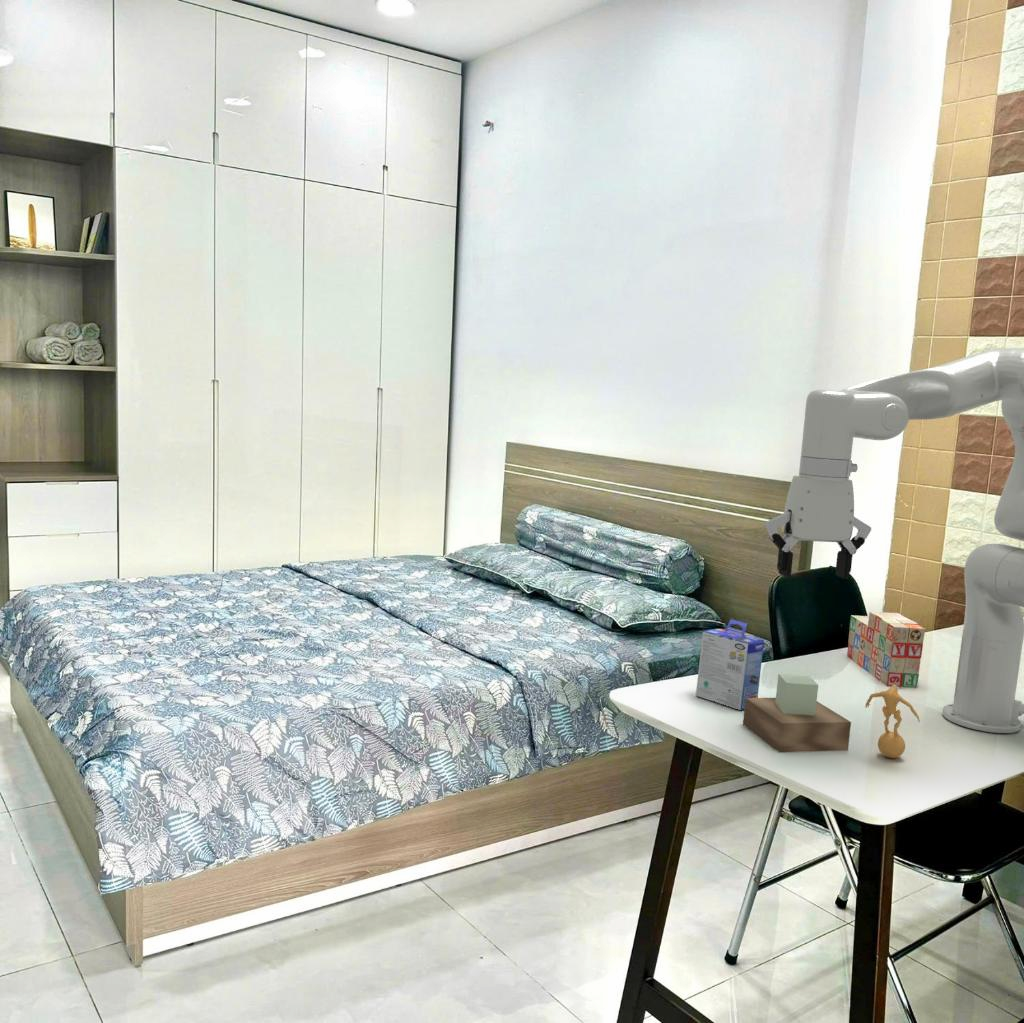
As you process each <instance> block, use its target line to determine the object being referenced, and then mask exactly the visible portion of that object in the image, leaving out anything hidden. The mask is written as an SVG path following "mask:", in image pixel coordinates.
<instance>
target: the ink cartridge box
mask: <svg viewBox="0 0 1024 1023" xmlns="http://www.w3.org/2000/svg"><path fill="white" fill-rule="evenodd" d="M734 625H736V626H737V625H738V626H740V627H741V628H742V629H738V628H734V627H732V626H734ZM748 625H749V624H748V623H747V622H743V621H739V620H735V619H732V618H730V620H729V622H728V624H727V625H726V628H725V629H722V628H714V629H708V630H707V629H706V630H704V631H703V632H702V635H701V636H702V638H701V645H700V646H701V647H700V655H699V665H698V670H697V671H698V673H697V681H696V688H695V696H696V697H699V698H702V699H705V700H707V701H711V702H714V701H715V702H714V703H716V704H720V705H723V704H724V705H723V706H725V705H726V706H725V707H728V706H729V707H728V708H731V707H732V709H736V710H737V709H738V710H737V711H744V709H745V699H746V698H759V697H758V696H759V689H760V688H759V687H760V679H761V670H762V663H763V662H762V661H763V653H764V645H765V644H764V643H765V640H764V639H763V638H758V637H756V636H755V637H754V636H749V635H746V634H745V633H746V630H747V627H748Z"/></svg>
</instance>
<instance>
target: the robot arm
mask: <svg viewBox="0 0 1024 1023" xmlns="http://www.w3.org/2000/svg"><path fill="white" fill-rule="evenodd" d="M806 397H807V398H806V401H805V410H804V421H803V422H804V423H803V432H802V443H801V452H800V461H799V470H798V475H793V476H792V478H791V479H792V480H791V483H790V485H789V489H788V493H787V496H786V501H785V504H784V505H785V506H784V513H781V514H779V515H778V516H775V517H773V518H771V519H769V520H767V521H765V523H764V525H765V528H766V532H767V534H768V535H769V540H771V542H772V543H773V544H774V545H775V548H776V549H778V553H777V564H776V568H777V571H778V574H779V575H781V576H783V577H785V578H790V577H792V568H793V567H792V566H793V558H794V553H793V552H792V551H791V550H792V548H793V547H794V546H795V545H796V544H797V543H798V542H799V541H803V542H819V543H821V542H823V543H824V542H825V543H837V545H838V546H839V548H840V550H838V552H837V555H836V564H835V573H834V574H835V576H837V577H839V578H840V579H843V580H849V576H850V573H851V572H852V564H853V555H855V554H856V553H857V550H859V549H860V548H861V547H862V546H863V545H864V544H865V542H866V541H865V540H866V539H867V538H868V536H869V534H870V533H871V532H872V527H871V526H870V525H868V524H867V523H865V522H864V521H862V520H860V519H859V518H857V517H856V516H855V496H854V494H855V493H854V486H853V480H852V479H850V477H851V473H856V472H857V471H858V464H857V463H853V462H852V455H853V454H852V451H853V446H854V443H853V442H854V438H857V439H864V440H871V441H886V440H891V439H893V438H895V437H897V436H899V435H900V434H902V432H903V431H904V430H905V429H906V427H907V426H908V423H909V420H910V421H911V420H915V421H916V420H917V421H918V420H919V421H920V420H921V421H922V420H923V421H924V420H927V421H928V420H935V419H937V420H938V419H943V418H950V417H953V416H956V415H958V414H963V413H964V412H967V411H971V410H973V409H977V408H979V407H982V406H985V405H988V404H993V403H994V402H999V401H1001V404H1000V406H1001V407H1000V408H1001V412H1002V416H1003V419H1004V421H1005V423H1006V425H1007V427H1008V429H1009V430H1010V432H1011V435H1012V438H1013V443H1014V452H1015V453H1014V459H1013V461H1012V465H1011V467H1010V468H1011V469H1010V471H1009V474H1008V476H1007V479H1006V481H1005V485H1004V487H1003V490H1002V492H1001V495H1000V498H999V500H998V503H997V506H996V509H995V513H994V518H993V522H994V526H995V528H996V530H997V531H998V532H999V533H1000V534H1001V535H1003V536H1005V537H1006V538H1007V537H1008V538H1010V539H1014V540H1016V541H1017V540H1018V541H1022V542H1024V347H1020V348H1019V347H1016V348H1015V347H1014V348H1013V347H1012V348H1011V347H1010V348H1003V347H1002V348H992V349H987V350H984V351H981V352H977V353H974V354H971V355H968V356H965V357H962V358H958V359H955V360H952V361H948V362H946V363H943V364H939V365H936V366H932V367H927V368H923V369H918V370H913V371H909V372H906V373H901V374H897V375H891V376H887V377H882V378H878V379H873V380H869V381H866V382H863V383H860V384H859V383H858V384H856V385H853V386H850V387H846V388H843V389H841V390H832V389H831V390H830V389H815V390H812V391H810V392H809V393H808V394H807V396H806ZM780 526H781V530H782V534H783V536H781V535H780V533H779V529H778V528H779V527H780ZM854 528H856V530H857V532H856V535H854V537H852V536H853V531H854ZM963 569H964V570H963V572H964V573H963V575H964V576H963V578H964V579H963V580H964V590H965V591H964V592H965V608H964V619H963V620H964V621H963V627H962V636H961V643H960V650H959V657H958V666H957V672H956V679H955V689H954V694H953V695H954V696H953V702H952V703H950V704H946V705H944V706H943V707H942V711H941V712H942V715H943V717H944V718H945V719H947V720H948V721H950V722H952V723H954V724H956V725H958V726H962V727H965V728H968V729H972V730H976V731H980V732H986V733H987V732H988V733H996V734H1014V733H1017V732H1019V731H1021V729H1022V721H1021V719H1019V717H1022V716H1023V715H1024V703H1023V702H1022V700H1017V699H1016V692H1017V687H1018V678H1019V673H1020V672H1019V671H1020V666H1021V665H1020V664H1021V659H1022V658H1021V657H1022V651H1023V642H1024V615H1023V612H1022V609H1021V608H1024V548H1021V547H1018V546H1013V545H1007V544H1004V543H1003V544H1002V543H986V544H982V545H980V546H978V547H976V548H975V549H973V550H972V551H971V552H970V554H969V555H968V556H967V559H966V561H965V564H964V568H963Z"/></svg>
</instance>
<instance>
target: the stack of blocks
mask: <svg viewBox="0 0 1024 1023" xmlns="http://www.w3.org/2000/svg"><path fill="white" fill-rule="evenodd" d="M848 629H849V632H848V633H849V634H848V643H847V651H846V654H847V655H846V656H847V657H848V658H849V659H851V660H852V661H853V662H854V663H855V664H857V665H858V666H859V667H861V668H862V669H863V670H865V671H866V672H867V673H869V674H870V675H871V676H873V677H874V678H875V679H877V681H879V682H880V683H881V684H883V685H884V686H885V687H889V688H890V687H891V686H892V685H896V686H897V688H910V689H912V688H913V689H917V688H918V682H919V676H920V674H919V672H920V666H921V659H922V656H923V647H924V640H925V639H924V638H925V634H926V628H924V627H923V626H921V625H919V623H917V622H916V621H914V620H912V619H909V618H908V617H907V616H906V617H905V616H904V615H903V614H900V613H898V612H882V611H881V612H879V611H869V612H868V615H852V614H851V615H850V620H849V628H848Z"/></svg>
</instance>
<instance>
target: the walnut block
mask: <svg viewBox="0 0 1024 1023" xmlns="http://www.w3.org/2000/svg"><path fill="white" fill-rule="evenodd" d="M775 701H776V697H758V698H746V699H745V709H743V720H742V725H743V726H744V725H745V726H746V727H747V729H748V730H750V732H752V734H754V735H756V736H757V737H758V738H759V739H761V741H764V743H766V744H768V745H769V746H770V747H772V748H773V749H774V750H775V751H776V752H778V753H795V752H796V753H799V752H803V753H804V752H829V751H830V752H833V751H834V752H836V751H849V745H850V744H849V743H850V736H851V735H850V734H851V727H852V722H851V721H850V720H848V719H847V718H845V717H844V716H842V715H841V714H839V713H837V712H836V711H834V710H832V709H831V708H829V707H827V706H826V705H824V704H822V703H821V702H819V701H818V700H817V702H816V711H815V715H800V714H785V713H783V712H782V711H781V710H780V708H779V707H778V706H777V705H776V703H775ZM745 726H744V727H745ZM746 727H745V728H746Z"/></svg>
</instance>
